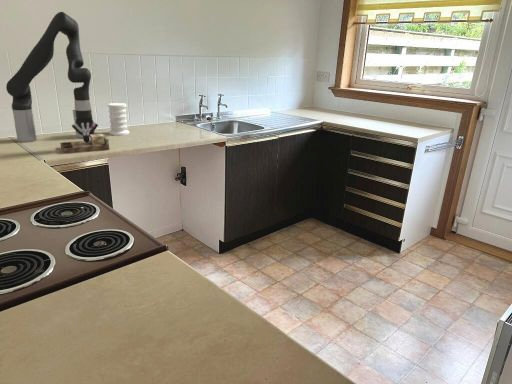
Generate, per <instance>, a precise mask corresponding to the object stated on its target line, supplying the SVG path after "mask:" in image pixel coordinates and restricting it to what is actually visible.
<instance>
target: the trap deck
mask: <svg viewBox="0 0 512 384" xmlns="http://www.w3.org/2000/svg"><path fill="white" fill-rule="evenodd" d="M101 134H102V135H103V136H104V142H105V144H94V145H93V144H92V143H91V140H90V141H88V142H87V143H85V142H84V140H79V141H76V140H75V141H65V142H60V143H59V144H60V148H61V151H62V154H75V153H86V152H87V153H88V152H98V151H99V152H100V151H110V143H109V138H108V137H107V136H106V135H105V134H104V133H101Z"/></svg>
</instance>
